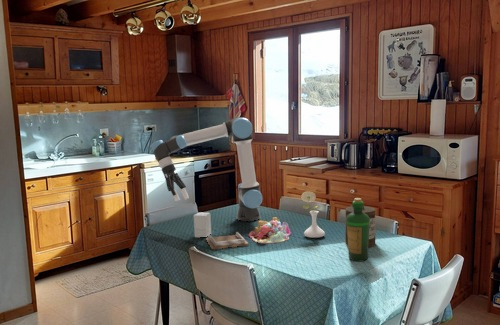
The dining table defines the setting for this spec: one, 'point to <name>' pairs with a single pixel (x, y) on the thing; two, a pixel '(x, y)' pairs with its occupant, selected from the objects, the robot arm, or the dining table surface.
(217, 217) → the dining table surface
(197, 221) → the supplement box
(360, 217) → the bottle
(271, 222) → the candy landscape model
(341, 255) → the dining table surface
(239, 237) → the board
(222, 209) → the dining table surface
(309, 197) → the flower in vase
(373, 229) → the wooden container
